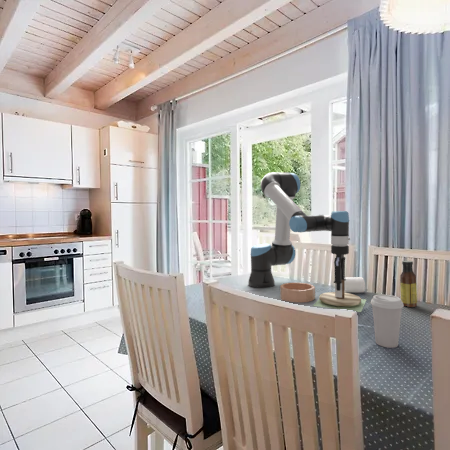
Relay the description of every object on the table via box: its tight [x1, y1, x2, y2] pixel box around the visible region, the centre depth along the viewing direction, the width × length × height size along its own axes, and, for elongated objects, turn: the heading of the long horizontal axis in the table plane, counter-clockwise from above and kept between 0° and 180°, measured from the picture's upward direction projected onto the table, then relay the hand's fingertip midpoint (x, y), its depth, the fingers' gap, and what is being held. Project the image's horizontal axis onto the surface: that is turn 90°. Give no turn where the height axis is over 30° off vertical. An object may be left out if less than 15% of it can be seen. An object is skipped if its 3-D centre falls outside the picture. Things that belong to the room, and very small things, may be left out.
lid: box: [318, 280, 362, 306], centre depth 145 cm, size 18×18×9 cm
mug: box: [344, 276, 366, 294], centre depth 165 cm, size 12×10×8 cm
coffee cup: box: [370, 294, 405, 349], centre depth 102 cm, size 10×10×15 cm
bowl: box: [279, 281, 316, 303], centre depth 155 cm, size 16×16×6 cm
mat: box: [312, 298, 367, 313], centre depth 145 cm, size 20×20×1 cm
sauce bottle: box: [399, 260, 418, 308], centre depth 140 cm, size 6×6×20 cm
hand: (339, 295), depth 145 cm, fingers closed on lid, 4 cm apart
